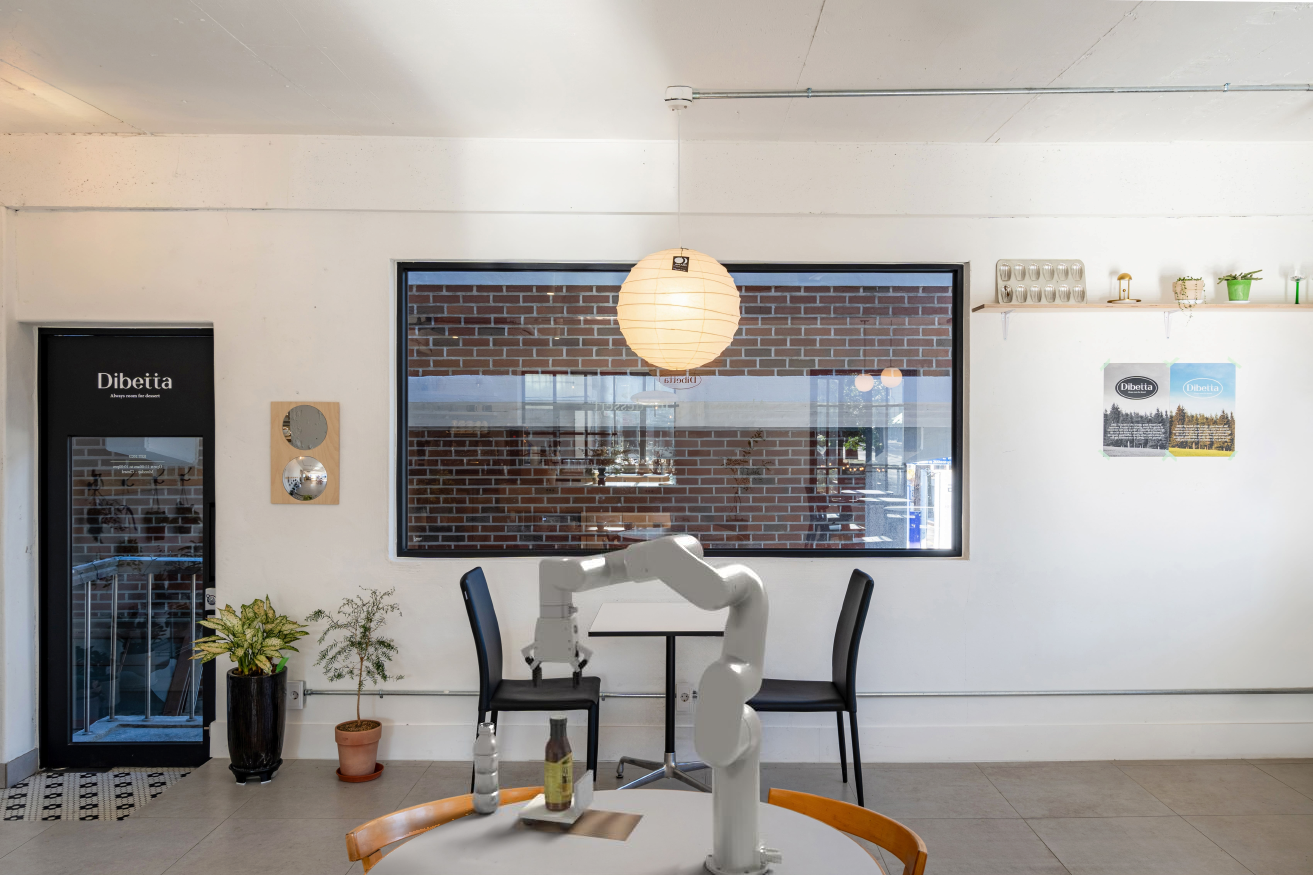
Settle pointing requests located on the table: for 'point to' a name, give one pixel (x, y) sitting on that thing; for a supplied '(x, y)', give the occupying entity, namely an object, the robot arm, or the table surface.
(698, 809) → the table surface
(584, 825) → the clip board
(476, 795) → the silver water bottle
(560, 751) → the sauce bottle
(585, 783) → the white bracket
